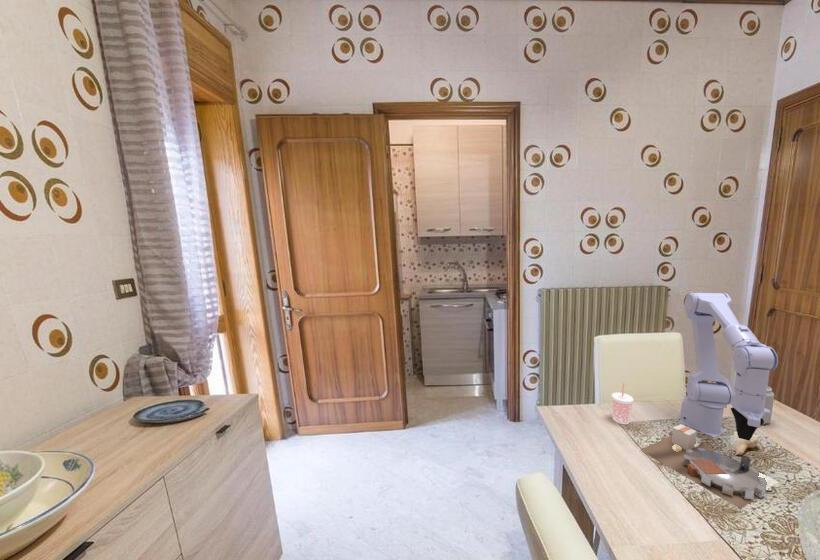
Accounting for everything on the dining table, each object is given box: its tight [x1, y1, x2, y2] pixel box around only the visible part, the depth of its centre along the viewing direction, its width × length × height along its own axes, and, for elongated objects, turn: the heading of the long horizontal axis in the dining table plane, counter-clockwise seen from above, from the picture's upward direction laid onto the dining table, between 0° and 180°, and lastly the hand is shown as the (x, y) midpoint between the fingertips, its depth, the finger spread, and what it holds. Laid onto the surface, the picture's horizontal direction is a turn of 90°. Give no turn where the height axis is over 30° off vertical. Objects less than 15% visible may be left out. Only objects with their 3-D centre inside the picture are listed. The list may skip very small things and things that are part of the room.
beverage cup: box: [611, 382, 634, 425], centre depth 107 cm, size 6×6×14 cm
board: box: [640, 435, 768, 510], centre depth 87 cm, size 22×19×1 cm
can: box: [762, 386, 775, 425], centre depth 106 cm, size 8×8×12 cm
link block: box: [671, 423, 698, 451], centre depth 94 cm, size 4×4×5 cm
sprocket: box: [683, 448, 767, 499], centre depth 82 cm, size 15×15×5 cm
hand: (743, 438), depth 85 cm, fingers closed
